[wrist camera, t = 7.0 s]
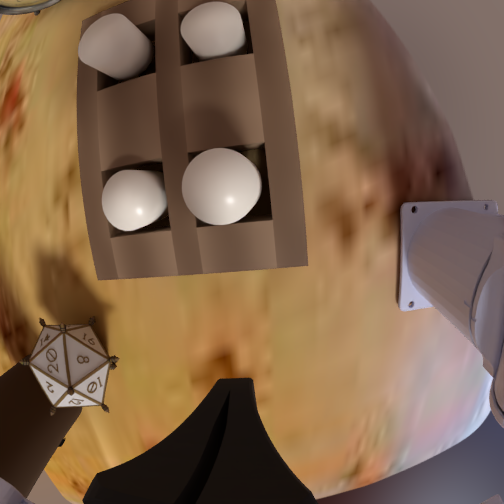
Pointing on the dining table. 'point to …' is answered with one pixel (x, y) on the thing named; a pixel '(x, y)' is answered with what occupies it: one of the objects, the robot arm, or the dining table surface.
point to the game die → (71, 365)
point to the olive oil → (28, 428)
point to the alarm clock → (24, 6)
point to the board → (191, 145)
